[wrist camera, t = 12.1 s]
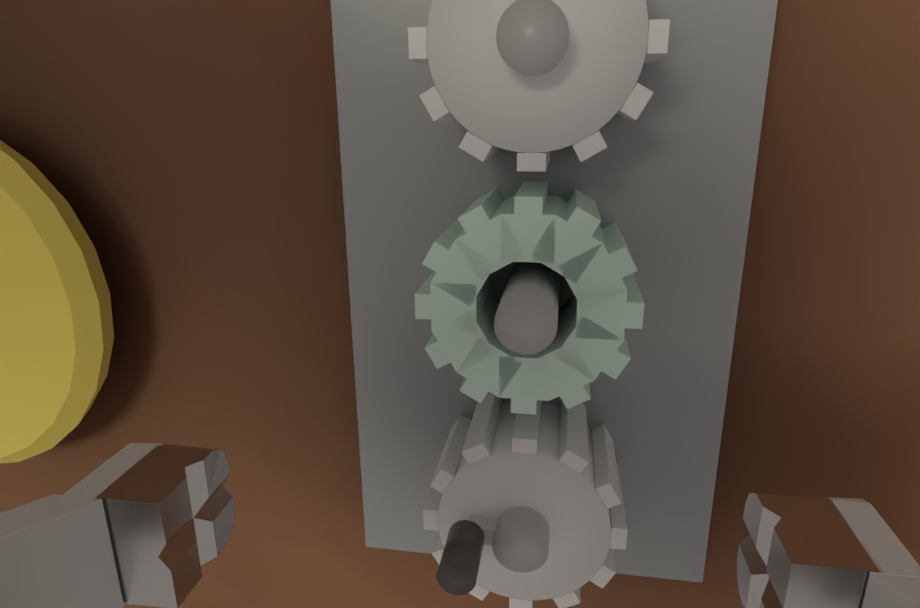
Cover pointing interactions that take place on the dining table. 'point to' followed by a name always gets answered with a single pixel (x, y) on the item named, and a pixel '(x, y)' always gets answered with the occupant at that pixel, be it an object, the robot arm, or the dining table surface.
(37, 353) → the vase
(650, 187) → the gear board
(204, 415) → the dining table surface
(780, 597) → the robot arm
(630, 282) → the loose gear
